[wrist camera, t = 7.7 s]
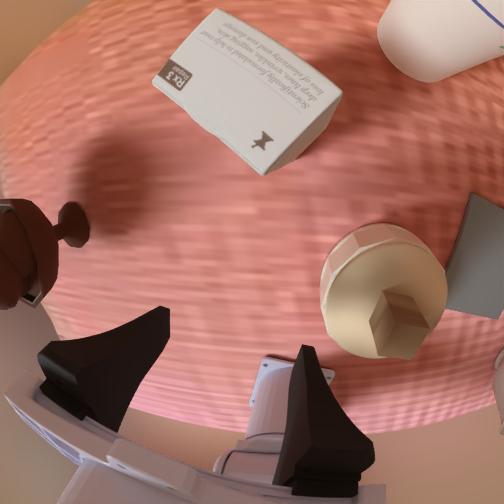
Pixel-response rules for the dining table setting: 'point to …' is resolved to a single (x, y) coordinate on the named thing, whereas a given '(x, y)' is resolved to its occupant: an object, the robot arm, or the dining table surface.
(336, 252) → the bowl
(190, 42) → the skincare box
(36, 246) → the ice cream bowl
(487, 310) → the mat
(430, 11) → the cylindrical container
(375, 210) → the dining table surface
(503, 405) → the teacup
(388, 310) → the lid
